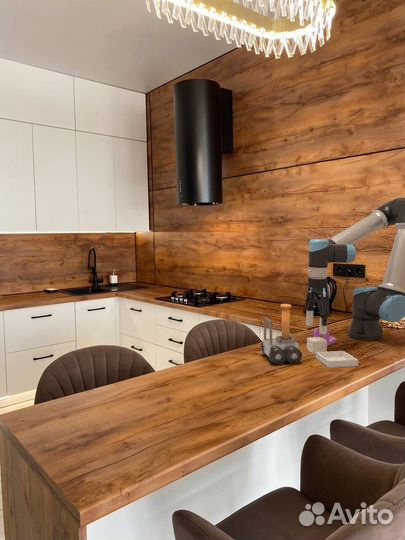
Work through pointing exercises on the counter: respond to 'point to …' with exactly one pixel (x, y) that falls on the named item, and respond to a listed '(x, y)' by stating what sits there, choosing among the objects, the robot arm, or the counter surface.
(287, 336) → the pin
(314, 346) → the off-white matte cube
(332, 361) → the tray
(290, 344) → the trolley
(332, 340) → the bracket
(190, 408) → the counter surface
